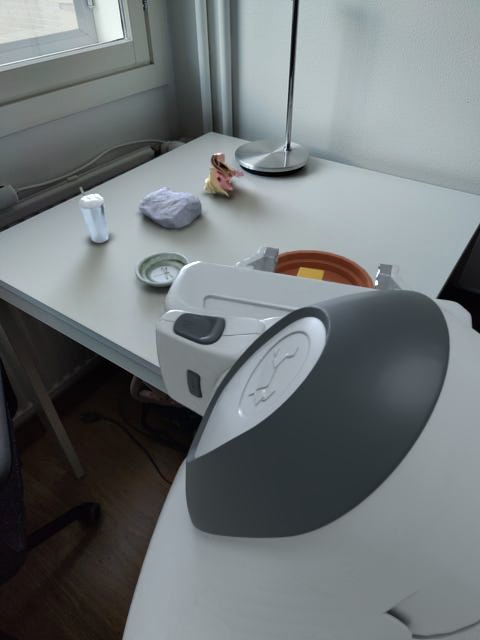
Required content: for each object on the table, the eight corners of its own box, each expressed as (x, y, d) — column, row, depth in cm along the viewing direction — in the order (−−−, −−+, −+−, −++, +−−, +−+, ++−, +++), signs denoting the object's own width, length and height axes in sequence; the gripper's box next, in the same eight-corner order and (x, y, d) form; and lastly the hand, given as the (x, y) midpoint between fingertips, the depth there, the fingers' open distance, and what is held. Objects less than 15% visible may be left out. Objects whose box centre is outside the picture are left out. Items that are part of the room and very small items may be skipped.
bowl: (375, 274, 82) (378, 259, 80) (365, 349, 68) (369, 333, 66) (267, 258, 86) (268, 243, 84) (237, 326, 72) (237, 310, 70)
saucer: (127, 275, 83) (125, 264, 81) (173, 256, 87) (172, 245, 85) (154, 302, 77) (152, 290, 75) (202, 280, 81) (201, 269, 80)
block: (321, 289, 78) (324, 270, 75) (318, 304, 75) (320, 284, 72) (298, 286, 79) (300, 266, 76) (293, 300, 76) (295, 280, 73)
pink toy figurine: (211, 206, 103) (188, 168, 102) (222, 206, 112) (201, 172, 112) (246, 182, 100) (222, 144, 99) (253, 185, 110) (232, 150, 109)
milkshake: (102, 229, 95) (90, 183, 88) (116, 238, 92) (106, 192, 85) (82, 237, 93) (69, 191, 86) (96, 247, 90) (84, 200, 83)
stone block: (179, 239, 95) (206, 210, 100) (173, 220, 91) (201, 191, 96) (136, 225, 100) (164, 199, 105) (129, 207, 96) (158, 181, 101)
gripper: (503, 393, 23) (477, 247, 33) (130, 320, 27) (207, 211, 37) (463, 462, 27) (451, 314, 37) (145, 389, 32) (211, 274, 42)
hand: (327, 262), depth 37 cm, fingers open, 8 cm apart
